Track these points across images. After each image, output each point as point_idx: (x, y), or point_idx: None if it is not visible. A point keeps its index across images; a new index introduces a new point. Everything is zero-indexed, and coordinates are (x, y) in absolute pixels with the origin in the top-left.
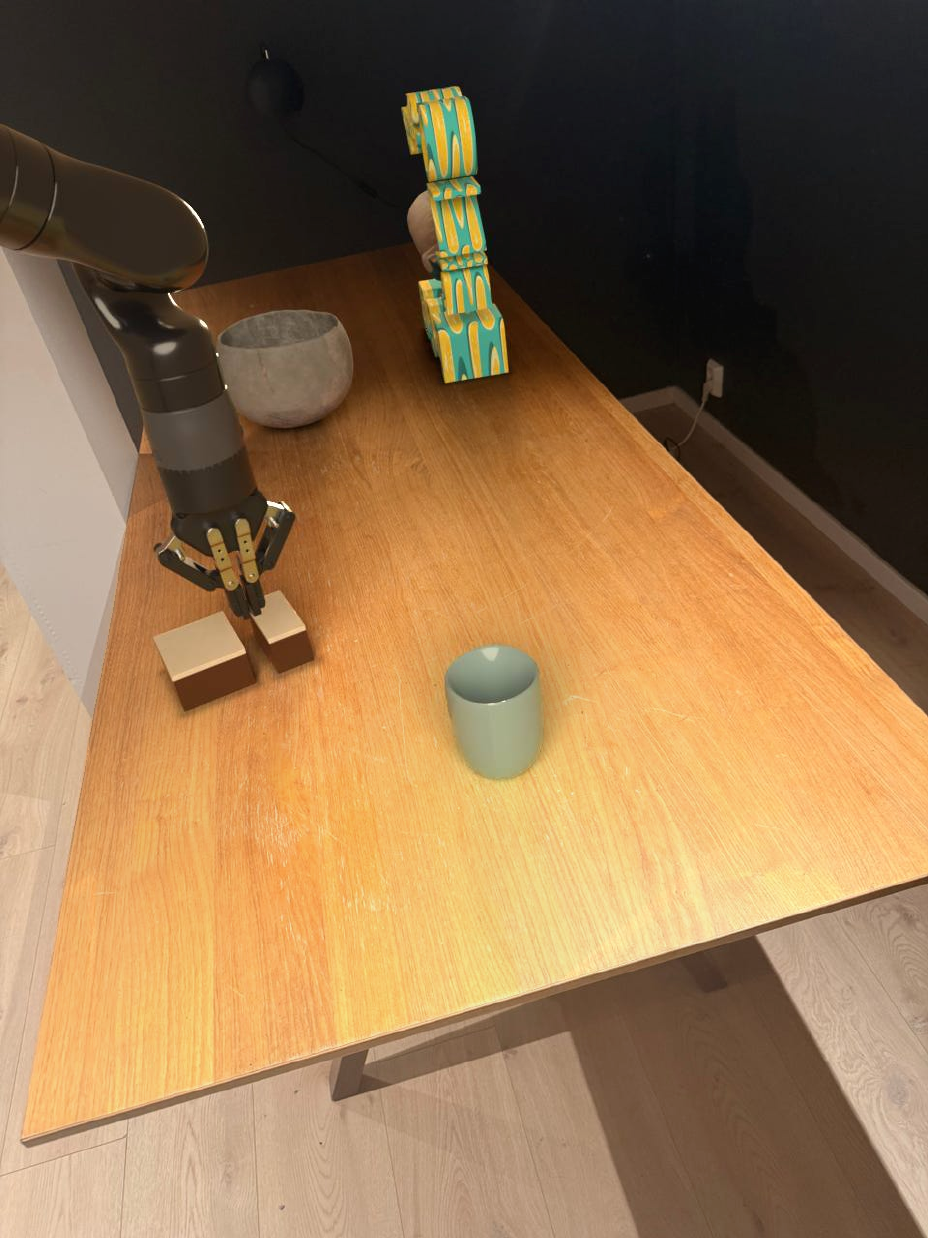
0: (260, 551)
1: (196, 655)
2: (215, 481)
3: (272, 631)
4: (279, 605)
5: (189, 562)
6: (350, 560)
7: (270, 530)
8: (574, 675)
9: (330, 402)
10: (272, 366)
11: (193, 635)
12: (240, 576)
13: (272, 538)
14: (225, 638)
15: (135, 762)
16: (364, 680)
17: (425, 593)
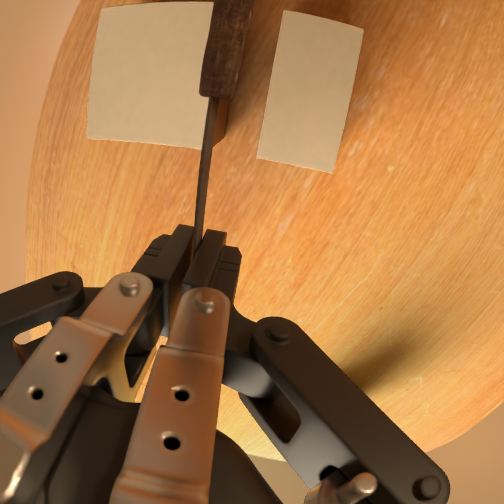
0: (265, 371)
1: (132, 108)
2: None
3: (276, 140)
4: (334, 75)
5: (4, 370)
6: (487, 13)
7: (318, 461)
8: (442, 364)
9: None
10: None
11: (152, 44)
12: (184, 291)
13: (294, 466)
14: (194, 93)
15: (60, 178)
16: (340, 247)
17: (501, 166)
